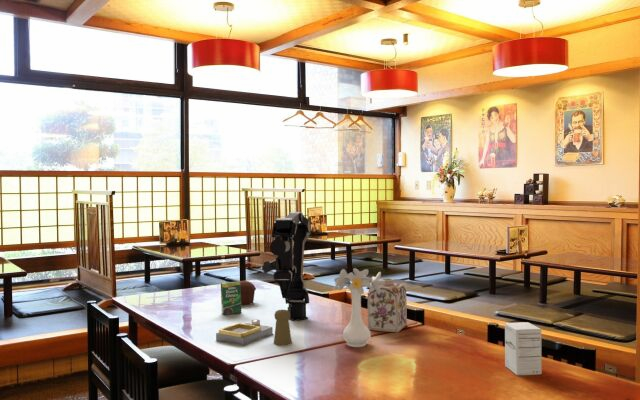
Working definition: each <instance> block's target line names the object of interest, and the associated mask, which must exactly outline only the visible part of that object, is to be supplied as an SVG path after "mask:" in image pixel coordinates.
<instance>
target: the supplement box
mask: <svg viewBox="0 0 640 400" xmlns="http://www.w3.org/2000/svg"><path fill="white" fill-rule="evenodd" d="M504 366H505V367H506V368H507V369H509V370H510V371H511V372H513V373H514V375H516V376H531V375H533V376H534V375H542V328H540V327H538V326H537V325H534V324H532V323H530V322H528V321H527V322H524V321H523V322H521V321H520V322H519V321H518V322H505V323H504Z"/></svg>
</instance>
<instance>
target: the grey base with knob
mask: <svg viewBox="0 0 640 400" xmlns="http://www.w3.org/2000/svg"><path fill="white" fill-rule="evenodd" d="M273 329H274V328H273V326H268V325H261V320H260V319H252V320H251V323H250V322H244V323H241V322H240V323H234V324H230V325H228V326H225V327H223V328H219V329H218V332H216V333H215V341H216V342H222V343H227V344H231V345H232V344H233V345H238V346H245V345H249V344H251V343H253V342H255V341H259V340H261V339H263V338H265V337H269V336H271V335H273V334H274V333H273Z"/></svg>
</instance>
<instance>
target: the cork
mask: <svg viewBox="0 0 640 400" xmlns="http://www.w3.org/2000/svg"><path fill="white" fill-rule="evenodd" d="M289 318H290V313H289V311H288V309H278V310H275V312H274V319H275V327H274V328H275V330H274V337H273V338H274V339H273V345H275V346H289V345H291V344H292V337H291V336H292V334H291V328H290V322H289V320H290V319H289Z"/></svg>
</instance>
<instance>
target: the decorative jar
mask: <svg viewBox="0 0 640 400" xmlns="http://www.w3.org/2000/svg"><path fill="white" fill-rule="evenodd" d="M380 280H384V281H385V284H384V285H382V286H379V288H380V294H378V293H377V292H376V290H375V289H374V291H373V292H372V291H371V288H369V289H368V292H367V327H368V329H369V330H370V331H377V332H386V333H387V332H388V333H399V332H400V331H402V329H403V328H405V327H406V326H407V324H408V319H407V318H408V317H407V316H408V315H407V312H408V311H407V309H408V308H407V305H408V304H407V289H406V287H405V285H403V284H402V283H398V282H394V281H395V280H394V278H391V277H384V278H381V279H380ZM370 285H371V286H372V284H370ZM377 286H378V285H377Z"/></svg>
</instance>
